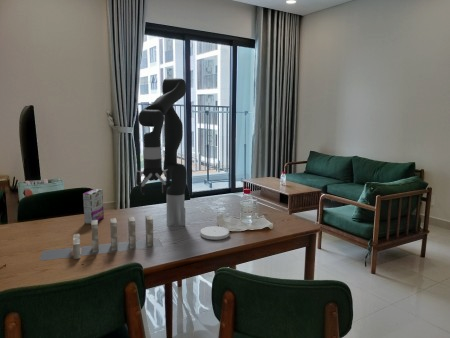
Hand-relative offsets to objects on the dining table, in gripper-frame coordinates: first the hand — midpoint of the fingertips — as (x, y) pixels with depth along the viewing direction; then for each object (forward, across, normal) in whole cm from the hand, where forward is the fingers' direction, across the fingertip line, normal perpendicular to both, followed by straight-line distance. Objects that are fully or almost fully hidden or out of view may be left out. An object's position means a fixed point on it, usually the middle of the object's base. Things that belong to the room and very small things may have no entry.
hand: (153, 193), depth 148 cm
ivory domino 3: (+22, +10, +1) cm, 25 cm away
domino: (+19, +32, -4) cm, 38 cm away
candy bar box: (+24, +26, -42) cm, 55 cm away
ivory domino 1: (+22, +25, +1) cm, 33 cm away
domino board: (+23, +22, +1) cm, 32 cm away
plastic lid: (+25, -29, -3) cm, 38 cm away
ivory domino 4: (+22, +3, 0) cm, 23 cm away
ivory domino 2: (+22, +18, +1) cm, 28 cm away
